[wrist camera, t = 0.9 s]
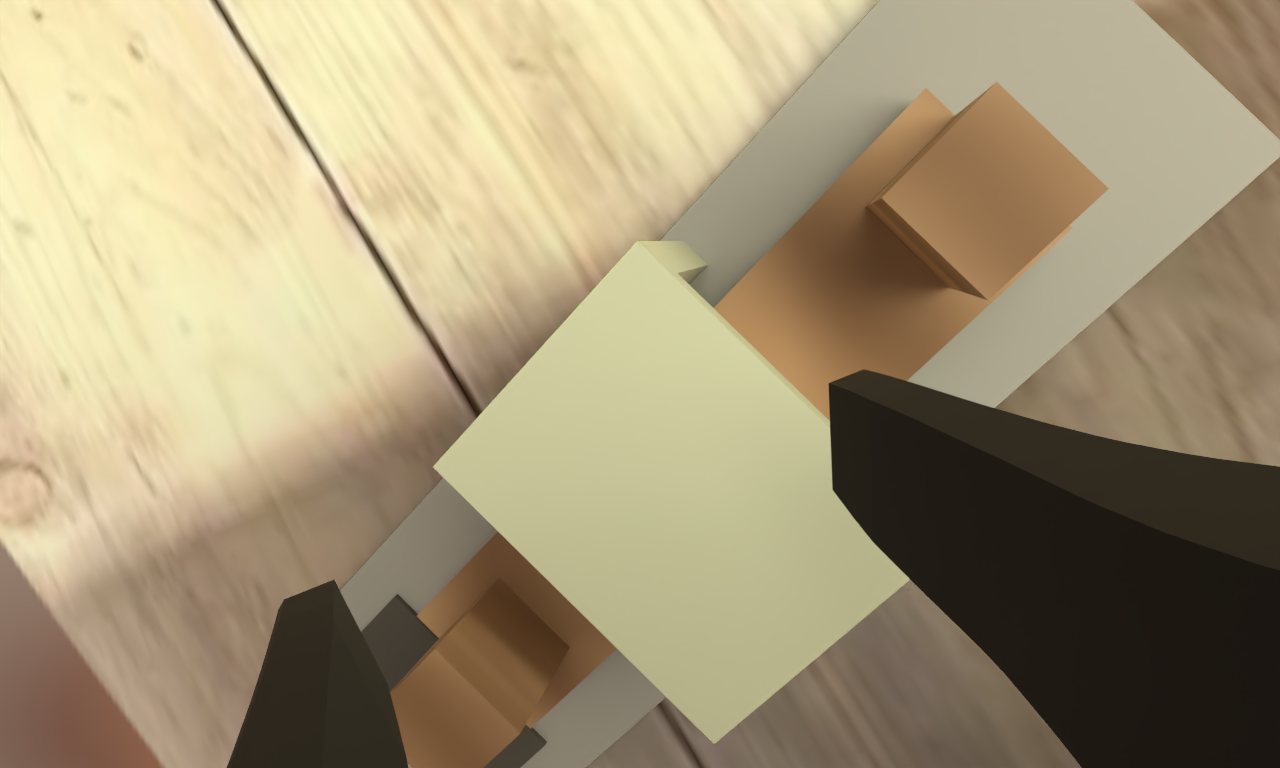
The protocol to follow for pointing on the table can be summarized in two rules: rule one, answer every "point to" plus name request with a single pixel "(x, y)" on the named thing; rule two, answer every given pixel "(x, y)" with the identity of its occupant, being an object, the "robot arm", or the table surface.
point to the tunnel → (675, 492)
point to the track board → (1007, 328)
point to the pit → (404, 643)
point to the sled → (801, 351)
